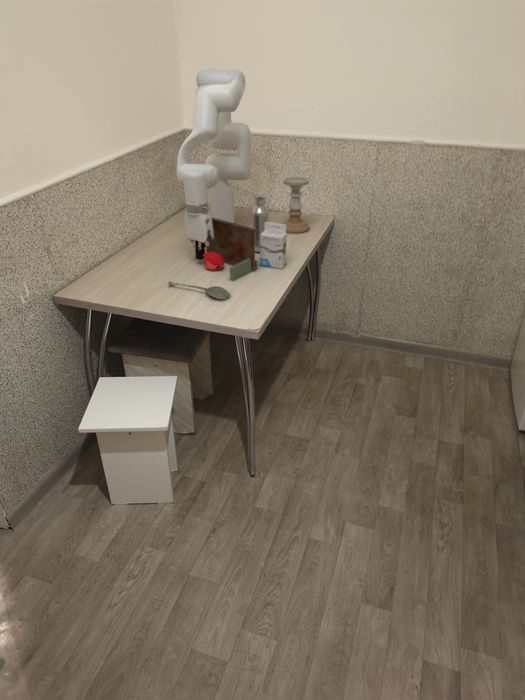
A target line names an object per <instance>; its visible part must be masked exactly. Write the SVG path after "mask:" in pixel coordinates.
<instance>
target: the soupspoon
mask: <svg viewBox="0 0 525 700" xmlns="http://www.w3.org/2000/svg"><path fill="white" fill-rule="evenodd" d="M168 286H169V287H172V286H181V287H187V288H192V289H193V288H194V289H198V290H201V291H205V293H206V294H207V295H209V296H211V297H212V298H215V299H217V300H222V301H223V300H228V299H229V298H230V292H229V291H228V290H227V289H225V288H224V287H221V286H218V285H217V286H216V285H215V286H213V285H212V286H209V287H208V288H207V287H202V286H198V285H193V284H186V283H185V284H184V283H179V282H173V281H172V280H170V281H168Z"/></svg>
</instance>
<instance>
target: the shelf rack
mask: <svg viewBox="0 0 525 700" xmlns="http://www.w3.org/2000/svg"><path fill="white" fill-rule="evenodd" d="M211 218H212V217H211ZM212 224H213V232H214V239H213V240H211V245H210V246H206V248H205V250H206V253H208V252H215V253H219V254H220V256H221V257H222V258H223V260H224V264H228V265H231V266H230V267H229V279H230V281H235V280H237V279H239V278H241V277H244V276H245V275H247V274H249V273H251V272H256V270H257V269H258V260H256V251H255V229H254V228H253V227H250V226H247V225H242V224H240V223H231V222H228V221H224V220H220V219H216V218H212Z"/></svg>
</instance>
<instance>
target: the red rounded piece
mask: <svg viewBox="0 0 525 700" xmlns="http://www.w3.org/2000/svg"><path fill="white" fill-rule="evenodd" d="M203 256H204V257H205V258H204V266H205V269H207V270H208V271H209V270H210V271H212V272H213V271H220V270H222V267H223V266H224V265H225V263H224V260H223V258H222V257H221V256H220V254H219V253H215V252H208V253H207V252H205V253H204V254H203Z"/></svg>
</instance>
